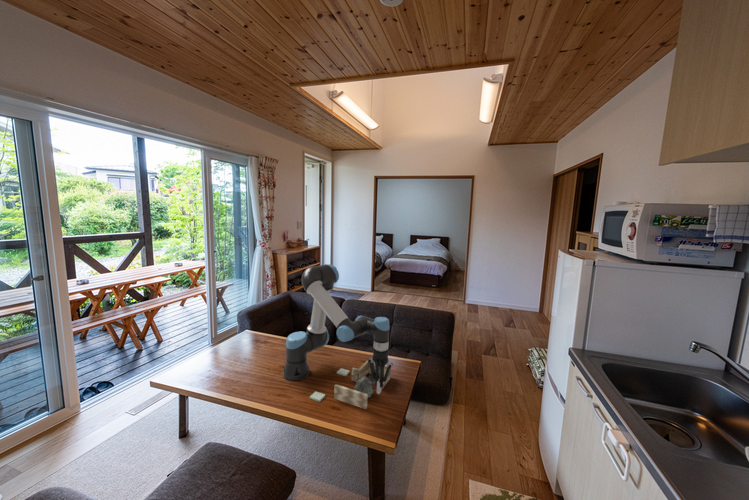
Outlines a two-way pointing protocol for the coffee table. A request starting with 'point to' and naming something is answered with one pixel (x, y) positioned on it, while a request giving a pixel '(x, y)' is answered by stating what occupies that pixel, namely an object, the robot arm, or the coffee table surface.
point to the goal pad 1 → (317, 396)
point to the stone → (364, 386)
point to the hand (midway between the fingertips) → (378, 392)
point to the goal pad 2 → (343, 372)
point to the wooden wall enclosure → (353, 395)
